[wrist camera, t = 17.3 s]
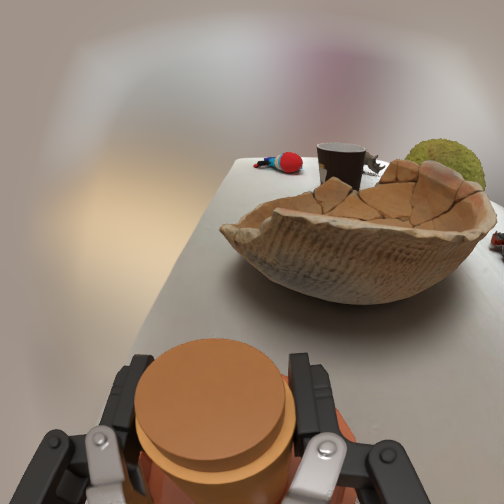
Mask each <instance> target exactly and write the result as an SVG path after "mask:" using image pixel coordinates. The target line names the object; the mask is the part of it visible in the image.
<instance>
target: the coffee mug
mask: <svg viewBox="0 0 504 504" xmlns="http://www.w3.org/2000/svg"><path fill="white" fill-rule="evenodd" d="M317 153H318V162H319V171H320V181H321V185H322V184H323V183H325V182H326V181H327V180H329V179H330V178H332V177H336V178H338V179H340V180H341V181H342V182H344V183H346V184H348V185H350V186H351V187H352V190H356V191H357V192H358V191H359V188H360V183H361V177H362V172H363V166H364V160H365V154H366V148H364V147H362V146H358V145H354V144H347V143H323V144H318V145H317Z"/></svg>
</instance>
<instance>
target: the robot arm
mask: <svg viewBox="0 0 504 504" xmlns="http://www.w3.org/2000/svg"><path fill="white" fill-rule="evenodd" d="M153 361H154V357H153V356H152V355H140V354H135V355H134V356H133V358H132V361H131V363H130V366H123V367H122V369H121V370H120V371H119V372H118V373H117V375H116V377H115V380H114V383H113V386H112V389H111V391H110V394H109V397H108V400H107V403H106V406H105V409H104V412H103V415H102V418H101V421H100V424H99V425H98V426H96V427H94V428H92V429H91V430H90V431H89V432H88V433H87V434H84V435H76V436H68V435H67V434H66V433H64V432H63V431H62V430H58V429H55V430H51V431H49V432H48V433H47V434H46V435H45V436H44V438H43V440H42V442H41V444H40V445H39V447H38V449H37V451H36V452H35V454H34V456H33V458H32V460H31V462H30V464H29V465H28V467H27V469H26V471H25V473H24V475H23V477H22V479H21V481H20V483H19V485H18V487H17V489H16V491H15V493H14V495H13V497H12V499H11V501H10V503H9V504H85V502H86V499H87V501H88V504H155V503H154V501H153V500H152V498H151V495H150V492H149V489H148V486H147V482H146V479H145V475H144V472H143V468H142V464H141V461H140V459H139V456H140V451H142V452H145V450H144V449H143V447H142V445H141V443H140V441H139V438H138V435H137V431H136V423H135V419H136V413H135V406H134V400H135V392H136V388H137V385H138V382H139V380H140V378H141V376H142V374H143V373H144V372H145V370H146V369H147V367H148V366H149V365H150V364H151V363H152V362H153ZM288 386H289V388H290V390H291V392H292V394H293V397H294V404H295V414H296V425H295V433H294V440H293V443H294V455H295V457H301V462H300V465H299V467H298V470H297V472H296V474H295V477H294V479H293V481H292V483H291V486H290V488H289V490H288V492H287V493H286V495H285V497H284V499H283V501H282V503H281V504H330V499H331V497H332V494H333V491H334V488H335V486H342V487H350V488H354V489H355V492H356V494H357V497H358V500H359V502H360V504H431V503H430V501H429V498H428V496H427V494H426V492H425V490H424V488H423V486H422V484H421V482H420V480H419V477H418V475H417V473H416V471H415V469H414V467H413V465H412V463H411V461H410V459H409V457H408V455H407V453H406V451H405V449H404V448H403V446H402V445H401V444H400V443H398V442H396V441H394V440H383V441H380V442H378V443H376V444H375V445H370V444H361V443H355V442H352V441H350V440H348V439H347V438H345V437H344V436H343V434H342V433H341V431H340V429H339V425H338V419H337V414H336V409H335V404H334V399H333V396H332V389H331V384H330V380H329V375H328V373H327V372H326V370H325V369H324V368H323V366H322V365H321V364H320V365H310V363H309V357H308V353H295V354H289V367H288Z"/></svg>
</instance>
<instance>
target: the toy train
mask: <svg viewBox="0 0 504 504" xmlns="http://www.w3.org/2000/svg"><path fill="white" fill-rule="evenodd" d="M491 244H492V245H494V246H497V245H503V247H502V255H503V256H504V233H498V234H497V231H496V232H495V234H493V236H492V239H491Z"/></svg>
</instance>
